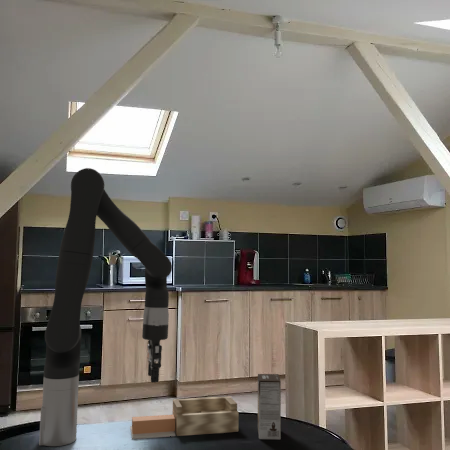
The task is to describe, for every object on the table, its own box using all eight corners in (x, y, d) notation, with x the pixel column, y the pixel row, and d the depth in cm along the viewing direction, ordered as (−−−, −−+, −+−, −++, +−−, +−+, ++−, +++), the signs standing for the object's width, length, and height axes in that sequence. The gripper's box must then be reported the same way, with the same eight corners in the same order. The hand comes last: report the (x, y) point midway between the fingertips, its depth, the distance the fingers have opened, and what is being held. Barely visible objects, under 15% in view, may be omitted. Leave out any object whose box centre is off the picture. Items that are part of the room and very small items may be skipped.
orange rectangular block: (132, 434, 132) (132, 421, 132) (131, 429, 136) (132, 417, 136) (174, 431, 135) (175, 418, 135) (172, 426, 139) (173, 414, 139)
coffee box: (257, 428, 139) (257, 373, 141) (278, 429, 139) (278, 373, 140) (258, 439, 130) (258, 380, 132) (281, 439, 130) (281, 380, 131)
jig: (177, 436, 132) (177, 408, 133) (172, 425, 141) (172, 399, 142) (238, 431, 136) (238, 404, 137) (229, 421, 146) (229, 396, 147)
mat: (132, 439, 129) (132, 437, 129) (130, 427, 138) (130, 426, 138) (175, 436, 132) (175, 434, 132) (170, 425, 141) (170, 423, 141)
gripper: (141, 320, 144) (138, 374, 143) (144, 325, 131) (141, 384, 129) (165, 320, 146) (163, 373, 144) (171, 325, 133) (169, 384, 131)
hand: (153, 378), depth 137 cm, fingers open, 8 cm apart
